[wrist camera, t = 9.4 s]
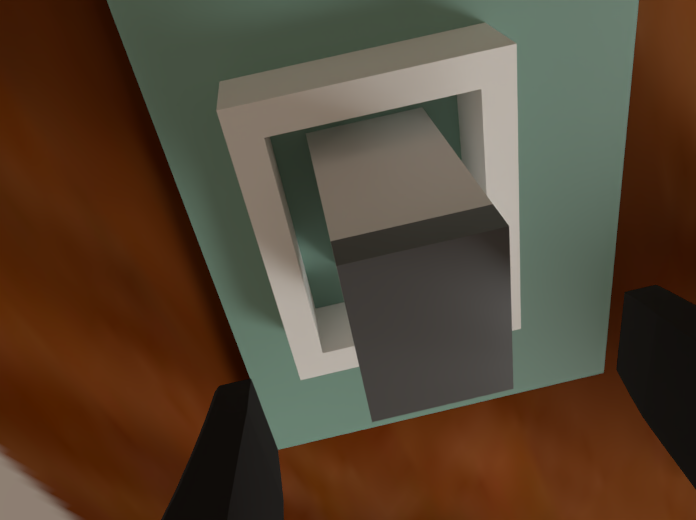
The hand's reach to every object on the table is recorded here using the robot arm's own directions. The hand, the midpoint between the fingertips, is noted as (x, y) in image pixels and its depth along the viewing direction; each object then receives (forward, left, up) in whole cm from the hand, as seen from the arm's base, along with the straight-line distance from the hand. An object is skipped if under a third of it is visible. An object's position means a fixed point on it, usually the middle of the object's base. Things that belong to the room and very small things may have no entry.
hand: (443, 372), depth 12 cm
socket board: (+1, -1, -7) cm, 7 cm away
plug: (+1, 0, -6) cm, 6 cm away
